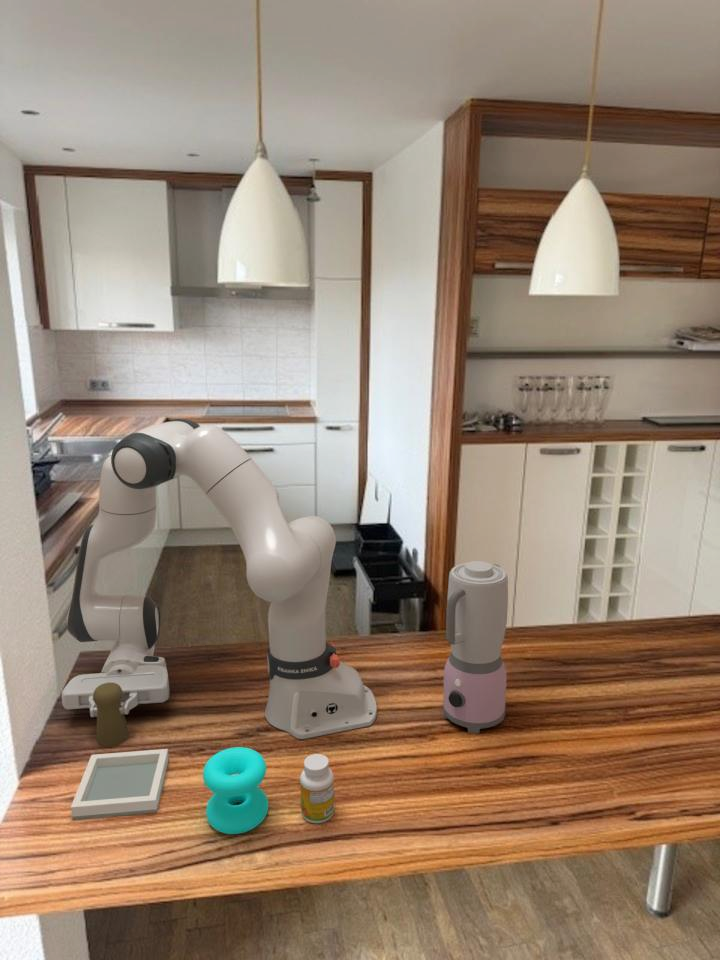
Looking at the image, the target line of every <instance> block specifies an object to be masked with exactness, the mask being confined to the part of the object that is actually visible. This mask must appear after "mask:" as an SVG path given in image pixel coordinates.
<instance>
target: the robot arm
mask: <svg viewBox="0 0 720 960" xmlns="http://www.w3.org/2000/svg"><path fill="white" fill-rule="evenodd" d="M181 476H186V477H188V478H190V479H191V480H192V481H193V482H194V483H195V484H196V485H197V486H198V488H199V489H200V490H201V491H202V493H203V494H204V495H205V496H206V497H207V499H208V500H209V501H210V502H211V504H212V505H213V506H214V507H215V508H216V510H217V511H218V512H219V513H220V515H221V517H222V518H223V519H224V520H225V522H227V524H228V525H229V527H230V529H231V530H232V532H233V533H234V536H235V537H236V539H237V541H238V544H239V546H240V549H241V551H242V553H243V555H244V559H245V563H246V565H245V566H246V571H245V572H246V573H245V574H246V580H247V583H248V587H250V589H251V591H252V592H253V593H254V594H255V595H256V597H259V598H260V599H261V600H264V601H266V602H270V606H269V608H268V613H267V617H268V619H267V621H268V640H269V647H268V649H267V655H266V656H267V659H266V660H267V673H268V675H269V676H268V677H269V689H268V690H269V691H268V697H267V702H266V707H265V710H264V716H265V719H266V720H267V722H268V723H269V724H270V725H271V726H272V727H275V728H277V729H279V730H282V731H284V732H287V733H289V734H290V735H292V736H293V737H294V738H296V739H299V740H305V739H310V738H315V737H316V738H317V737H319V736H325V735H330V734H336V733H339V732H345V731H350V730H354V729H359V728H365V727H370V726H371V725H373V724H374V722H375V721H376V719H377V715H378V708H377V701H376V698H375V695H374V694H373V691H372V690H371V689H370V688H369V687H368V686H367V685H364V682H363V679H362V677H361V675H360V674H359V672H358V671H357V670H356V668H353V667H352V666H350V665H348V664H346V663H344V662H343V661H341V659H340V656H339V655H337V648H336V647H335V644H334V642H333V641H332V640H331V641H330V643H328V642H327V639H326V638H327V635H326V631H327V630H326V609H327V608H326V607H327V598H328V592H329V584H330V578H331V569H332V560H333V556H334V555H333V554H334V551H335V547H336V544H337V537H336V536H337V535H336V533H335V531H334V528H333V527H332V525H331V524H330V523H329V522H328V521H327V520H326V519H324V518H322V517H320V516H317V515H307V516H303V517H299V518H297V519H294V520H292V521H290V522H289V523H288V521H287V520H286V517H285V515H284V513H283V511H282V508H281V506H280V502H279V501H280V499H279V496H280V495H279V492H278V490H277V488H276V486H275V485H274V484H273V483H272V481H271V480H270V479H269V477H267V476H266V475H265V473H264V472H263V470H262V469H261V468H260V467H259V466H258V465H257V463H256V462H255V461H254V459H253V458H252V457H251V456H250V455H249V454H248V452H247V451H246V450H245V449H244V448H243V447H242V446H241V445H240V444H239V443H238V442H237V441H236V440H235V439H234V438H233V437H231V435H229V434H228V433H227V432H225V431H224V430H223V429H222V427H219V426H217V425H214V424H206V425H204V424H203V425H200V424H199V423H197V422H195V421H193V420H191V419H186V418H177V419H175V418H174V419H171V420H168V421H167V422H161V423H157V424H151V425H148V426H146V427H144V428H142V429H139V430H138V431H136V432H133V433H132V432H131V433H129V434H128V435H126V436H124V437H123V438H121V440H120V441H119V442H118V443H117V444H115V446H114V447H113V449H112V452H111V454H110V455H109V456H107V458H105V460H104V461H103V464H102V468H101V473H100V478H99V479H100V480H99V489H98V490H99V492H98V495H99V496H98V501H99V502H98V505H99V508H98V509H99V510H98V516H97V519H96V520H95V522H94V524H92V525H89V526H87V528H86V529H85V531H84V533H83V536H82V539H81V542H80V546H79V552H78V557H77V563H76V570H75V577H74V583H73V591H72V595H71V601H70V606H69V609H68V611H67V612H68V613H67V616H66V629H67V631H68V633H69V634H70V635H71V636H72V638H74V639H75V640H77V641H78V642H79V643H89V642H90V643H91V642H98V641H99V642H100V641H106V642H107V641H108V642H109V641H110V642H113V641H115V642H114V643H113V645H112V647H111V650H110V653H109V655H108V657H107V659H106V661H105V662H104V665H103V667H102V669H101V672H99V673H83V674H78V675H75V676H73V678H71V679H70V680H69V681H68V683H67V684H66V685H65V687H64V688H63V689H62V691H61V702H62V706H63V708H64V709H66V710H76V709H77V710H78V709H89V715H90V718H95V717H96V718H97V705H96V704H95V702H94V700H93V694H94V691H95V689H96V688H97V687H98V686H100V685H102V684H104V683H116V684H118V685H119V686H120V687H121V689H122V698H121V700H120V702H121V705H120V707H119V711H120V714H121V715H124V716H125V715H129V713H130V710H132V709H134V708H136V707H137V706H138V705H142V704H145V705H147V704H158V703H161V704H162V703H165V702H166V701H168V700H169V698H170V680H169V674H168V673H169V672H168V669H167V668H168V667H167V664H166V663H167V662H166V660H165V658H164V657H162V656H155V655H154V651H155V644H156V643H157V641H158V638H159V635H160V630H161V629H160V628H161V612H160V608H159V606H158V605H157V604H156V602H155V601H154V600H153V598H152V597H150V596H149V595H141V594H139V595H138V594H125V595H124V594H101V593H98V592H97V591H96V586H97V585H96V584H97V580H98V579H97V578H98V574H99V573H98V572H99V566H100V562H101V561H102V560H104V558H107V557H109V556H111V555H113V554H116V553H119V552H120V553H121V552H122V551H126V550H130V549H131V548H134V547H136V546H138V545H140V544H141V543H143V542H144V541H145V540H146V539H148V538H149V537H150V536H151V534H152V533H153V531H154V529H155V526H156V521H157V520H156V519H157V486H160V485H162V484H163V483H167V482H169V481H172V480H175V479H177V478H179V477H181Z"/></svg>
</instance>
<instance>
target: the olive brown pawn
mask: <svg viewBox="0 0 720 960" xmlns="http://www.w3.org/2000/svg"><path fill="white" fill-rule="evenodd" d="M121 698H122V689H121V687H120V686H119V685H118V684H116V683H104V684H102V685H100V686H98V687H97V688H96V689H95V691H94V694H93V700H94V702H95V704H96V705H97V717H96V744H97V746H100V747H103V748H115V747H117V746H120V745H122V744H124V743H125V742H126V741H127V740H129V737H130V730H129V728H128V724H127V720H126V716H125V714H124V715H121V714H120V711H119V707H120V705H121V702H120V700H121Z"/></svg>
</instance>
